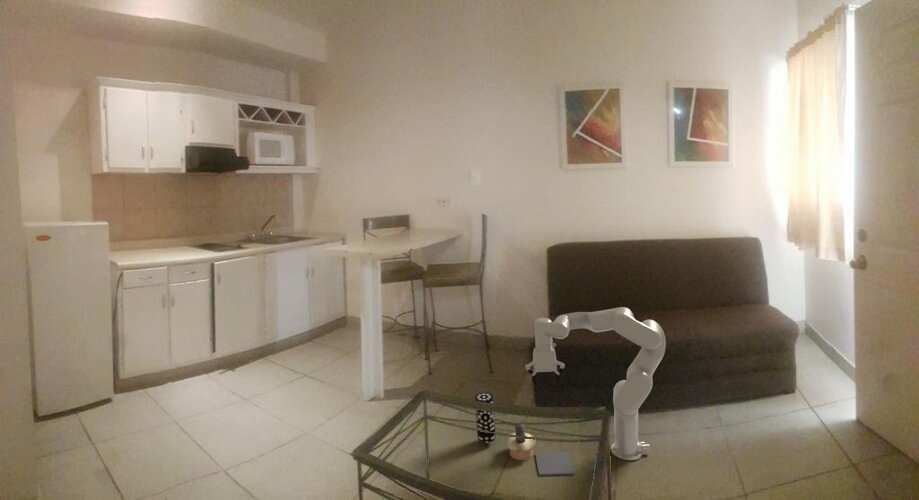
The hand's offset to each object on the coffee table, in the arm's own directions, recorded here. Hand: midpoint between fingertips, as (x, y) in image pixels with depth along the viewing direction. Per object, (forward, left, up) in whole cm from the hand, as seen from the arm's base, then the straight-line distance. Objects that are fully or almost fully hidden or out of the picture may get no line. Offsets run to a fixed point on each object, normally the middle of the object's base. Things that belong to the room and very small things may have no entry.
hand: (545, 382), depth 199 cm
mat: (0, +17, -28) cm, 33 cm away
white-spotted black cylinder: (+28, 0, -26) cm, 38 cm away
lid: (+13, +8, -23) cm, 28 cm away
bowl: (+13, +8, -28) cm, 32 cm away
